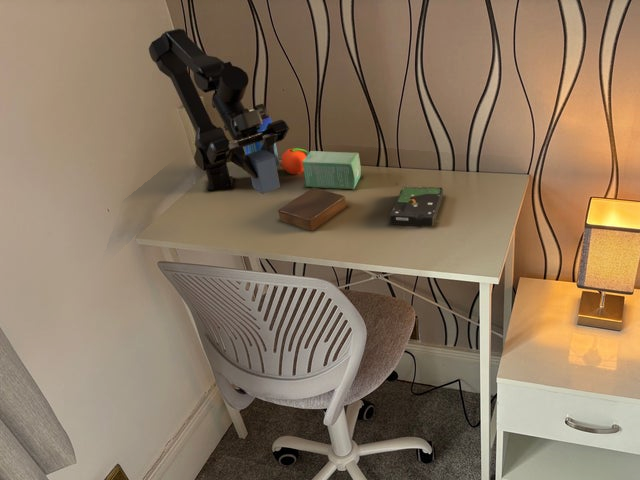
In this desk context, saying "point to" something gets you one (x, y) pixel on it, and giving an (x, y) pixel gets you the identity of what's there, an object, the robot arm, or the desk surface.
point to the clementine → (293, 160)
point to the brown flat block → (312, 208)
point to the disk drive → (417, 206)
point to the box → (331, 169)
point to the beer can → (258, 145)
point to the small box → (264, 171)
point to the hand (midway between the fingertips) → (266, 174)
